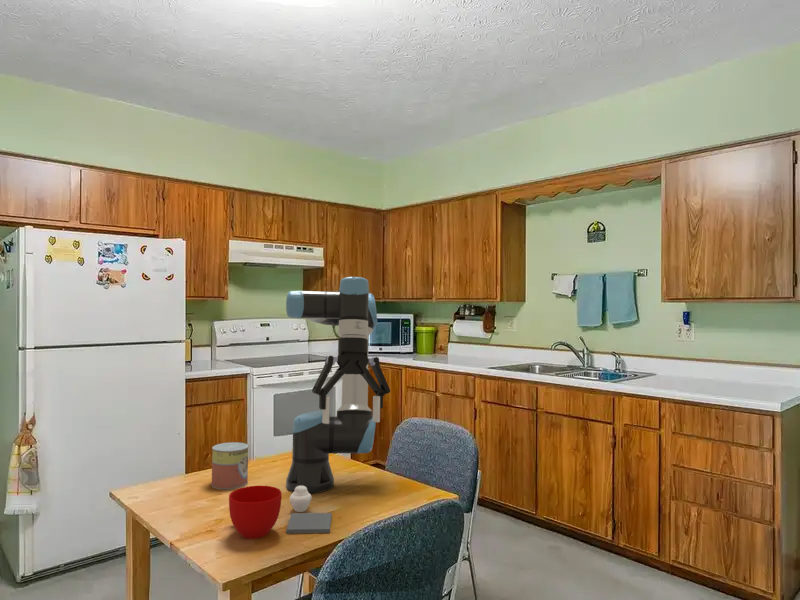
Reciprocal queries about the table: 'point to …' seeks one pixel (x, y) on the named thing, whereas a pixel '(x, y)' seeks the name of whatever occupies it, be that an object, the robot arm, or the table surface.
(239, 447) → the canned food
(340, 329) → the robot arm
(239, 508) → the ceramic cup
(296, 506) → the white fluted round figurine
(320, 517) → the coaster
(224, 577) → the table surface
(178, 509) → the table surface
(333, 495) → the table surface
